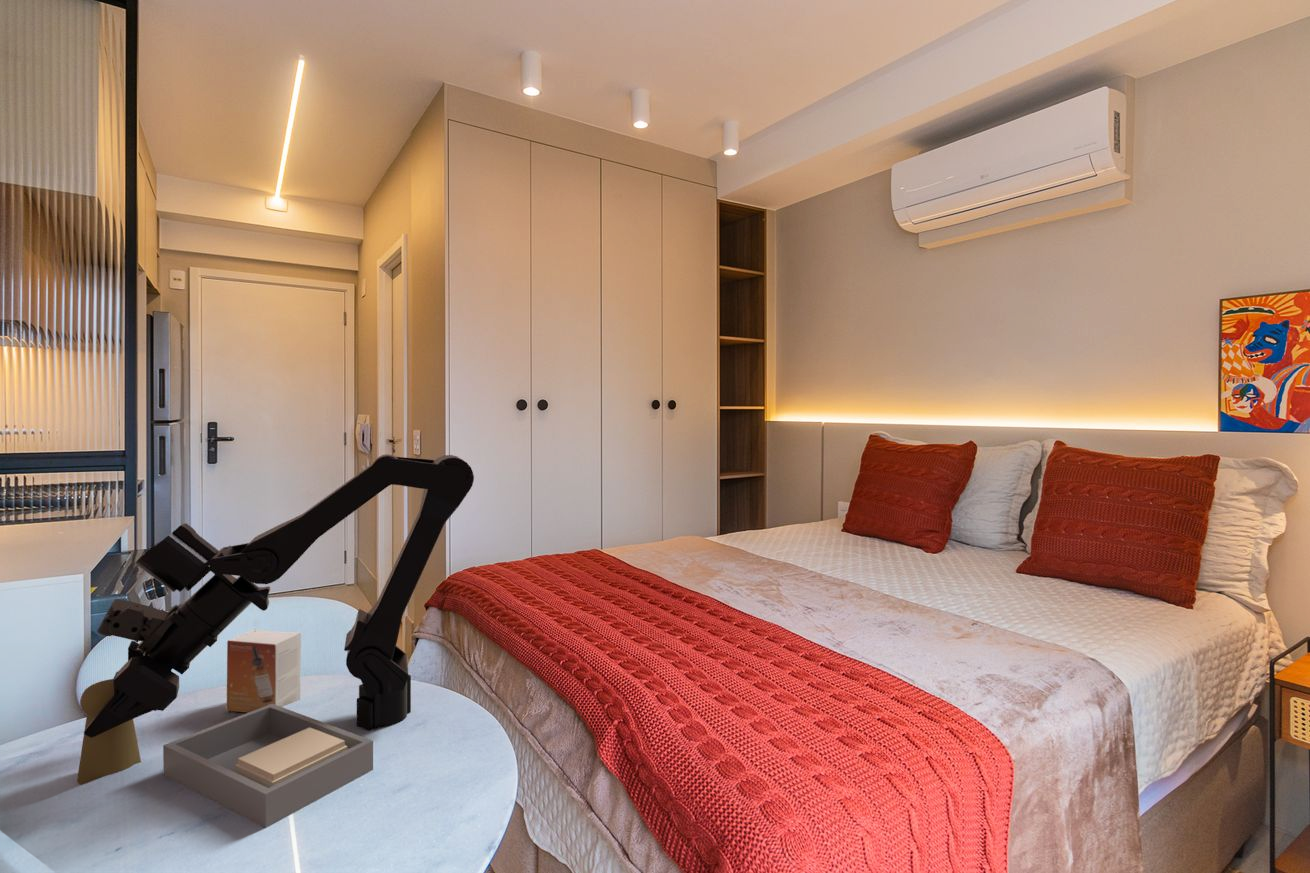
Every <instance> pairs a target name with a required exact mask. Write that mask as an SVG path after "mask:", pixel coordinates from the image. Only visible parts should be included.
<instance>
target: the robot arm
mask: <svg viewBox="0 0 1310 873" xmlns="http://www.w3.org/2000/svg"><path fill="white" fill-rule="evenodd" d="M474 480H475V475H474V472H473V469H472V467H471V466H470V465H469V464H468V462H466V461H465V460H464V459H462V458H460V457H459V456H456V455H453V454H446V455H442V456H440V457H437V458H436V459H430V458H429V459H428V458H420V457H419V458H418V457H405V456H404V457H402V456H396V455H393V454H387V453H386V454H382V455H380V456H378V457H377V458H375V459H374V461H373V462H372V463H371V464H370V465H368V466H366V468H364V469H363V470H361V471H360V472H359V473H357V474H356V475H354V476H353V477H351V478H350V479H349V480H348V481H346V482H344V483H343V484H342V485H341V486H339V487H338V488H336V489H335V490H334V491H333V492H331V493H329V494H328V495H326V496H325V497H323V499H321V500H320V501H319V502H317V503H316V504H314V505H313V506H311V507H310V508H309V509H308V510H306V511H304V512H303V513H301V514H300V515H297V516H295V517H294V518H291V519H289V520H287V521H284V522H282V523H280V524H278V525H276V526H274V527H272V528H270V529H268V530H266V531H263V532H262V533H260V534H258V535H256V536H254V538H252V539H251V540H250V542H247V543H246V542H245V543H241V544H234V545H229V546H224V547H222V548H220V549H219V550H218V549H217V548H216V547H215V546H213V545H212V544H211V543H209V541H208V540H206V539H205V538H203V537H202V536H201V535H199V534H198V532H196V530H195V529H194V528H193V527H192V526H190V525H189V524H188V523H183V524H180V525H179V526H178V527H177V528H176V529H174V531H172V532H171V533H170V534H168V535H167V536H166V537H164V538H163V539H162V540H161V541H159V542H157V543H155V544H154V545H152V546H151V547H150V548H149V549H148V550H147V551H145V553H143V554H142V555H141V556H140V557H139V558H138V559H137V560H136V561H135V562H134V565H136V566H137V567H138V568H140V569H142V571H144V572H145V573H147V574H148V575H149V576H151V577H152V578H154V579H155V580H156V581H157V582H159V583H160V584H161V585H163V586H164V587H166V588H167V590H170V591H171V592H172V593H175V592H176V591H178V592H179V593H180V592H182V591H183V590H185V591H186V592H189V591H191V590H192V589H193V588H194V587H195V586H196V585H198V583H199V582H200V581H202V579H203V578H205V577H206V576H207V575H208V574H209V573H210V572H211V573H213V574H214V575H213V576H212V577H211V578H209V580H207V581H206V582H205V583H204V584H203V585H202V586H201V587H200V588H198V590H197V591H196V592H194V594H192V595H191V596H190V597H189V598H188V599H187V600H186V601H185V602H183V603H179V604H178V605H177V604H175V605H174V606H173V607H171V608H170V609H169V610H168V611H164V610H161V609H159V608H156V607H154V606H151V605H146V604H141V603H137V602H134V601H130V600H127V599H122V598H116V599H114V600H113V601H112V603H111V604H110V606H109V608H108V609H107V612H106V613H105V615H104V616H103V619H102V621H101V622H100V624H99V626H98V628H97V630H96V632H97V633H98V634H100V635H102V636H106V637H111V636H113V637H118V638H122V639H127V640H131V641H130V643H129V645H128V648H127V662H125V663H124V665H123V666H122V667H121V668H120V669H119V670H118V671H116V672H115V674H114V677H112V679H113V682H112V683H113V686H114V693H113V695H112V696H111V697H110V699H109V700H108V701H107V702H106V704H105V705H104V706H103V708H102V709H101V710H100V711H99V713H98V714H97V715H96V716H95V718H94V719H93V720H92V722H91V723H90V724H89V726H88V727H87V728H86V729H85V728H84V730H85V731H84V730H83V735H84V734H85V735H87V736H88V737H90V738H92V737H95V736H97V735H99V734H101V733H103V732H106V731H108V730H110V729H112V728H114V727H116V726H119V725H121V724H123V723H125V722H127V721H130V720H132V719H133V720H134V719H137V718H139V717H141V716H143V715H147V714H148V713H151V712H153V711H154V712H155V711H156V712H157V711H161V712H163V711H164V710H165V709H167V708H168V706H169V705H171V704H172V703H173V702H174V701H175V699H177V698H178V694H179V690H180V676H179V675H178V674H176V673H174V672H173V671H172V670H174V671H175V672H177V673H179V674H180V675H183V674H184V673H185V672H186V671H187V670H188V669H190V666H191V662H192V661H193V660H194V659H195V658H196V657H197V656H198V655H199V654H201V653H202V652H203V651H204V649H205V648H207V646H208V647H209V648H211V647H212V646H213V645H215V643H216V642H217V641H218V637H219V635H220V634H221V633H222V632H223V631H224V630H225V629H227V627H228V626H230V625H231V623H233V621H234V620H236V618H237V617H238V616H240V615H241V614H242V613H243V612H244V611H245V610H246V609H247V608H248V607H249V606H250V605H251V604H253V605H254V606H256V607H257V608H258V609H259V610H261V611H262V612H264V611H267V609H268V608H269V605H270V600H269V596H270V595H269V594H270V590H271V586H269V584H273V583H274V582H275V581H278V580H279V579H280V578H282V576H284V575H285V574H286V572H288V570H289V569H290V568H291V567H292V566H293V565H294V564H295V563H296V562H298V560H299V559H300V558H301V557H302V556H303V555H304V554H305V552H306V551H307V550H308V549H309V548H310V547H311V546H312V545H313V544H314V543H315V542H316V541H317V540H318V539H319V538H320V537H322V536H323V535H325V533H327V532H328V531H330V530H331V529H333V527H335V526H337V524H339V523H340V522H342V521H343V520H345V519H346V518H347V517H349V516H350V515H352V514H353V513H354V512H356V511H357V510H358V509H359V508H361V507H362V506H363V505H365V504H366V503H368V502H369V501H370V500H372V499H373V498H374V497H376V496H378V494H379V493H381V492H383V491H384V490H385V489H387V488H388V487H389V486H392V485H394V486H403V487H407V488H414V489H415V488H416V489H423V492H422V495H421V496H422V497H421V500H420V504H419V505H420V506H419V510H418V513H417V515H416V517H415V520H414V521H413V524H412V526H411V528H410V530H409V532H408V534H407V537H406V539H405V541H404V543H403V545H402V547H401V550H400V551H399V554H398V556H397V558H396V560H395V563H394V564H393V567H392V569H391V571H390V573H389V576H388V577H387V580H386V581H385V584H384V587H383V589H382V590H381V593H380V595H379V597H378V599H377V601H376V602H375V604H374V605H373V606H372V608H371V609H370V610H369V611H368V612H366V611H364V610H362V609H360V608H359V609H358V610H357V613H356V619H355V621H354V624H353V626H352V627H351V629H350V630H349V631H348V632H347V633H346V636H345V637H346V638H345V641H344V643H345V644H344V651H345V652H346V653H347V654H346V658H345V659H346V660H345V665H346V667H347V670H348V672H349V673H350V674H351V675H352V676H353V677H354V678H356V679H358V680H360V681H361V684H359V685H358V697H357V698H356V727H357V728H360V729H363V730H366V731H368V732H369V731H372V730H377V729H379V728H386V727H390V726H394V725H397V724H399V723H401V722H403V721H404V720H405V719H406V718H407V717H408V714H411V710H412V707H411V706H412V705H411V702H412V699H411V697H412V694H411V693H412V676H411V674H409V668H408V667H409V666H408V665H409V664H408V656H407V653H406V652H405V651H403V650H402V649H401V648H400V647H398V646H397V643H398V639H399V634H400V630H401V629H400V628H401V623H402V619H403V615H404V614H405V611H406V609H407V607H408V605H409V602H410V600H411V598H412V595H413V593H414V591H415V589H416V587H417V585H418V582H419V580H420V579H421V577H422V574H423V572H424V569H425V568H426V565H427V563H428V561H429V559H430V556H431V554H432V552H433V551H434V550H433V549H434V548H435V545H436V544H437V541H438V539H439V537H440V534H441V532H442V530H443V528H444V526H445V524H446V523H447V521H448V520H449V519H450V518H451V516H452V515H453V514H454V513H455V511H456V510H457V509H458V507H459V506H460V505H461V504H462V502H463V500H464V499H465V498H466V497H467V495H468V494H469V492H470V491H471V489H472V487H473V484H474ZM235 576H237V578H236V577H235ZM258 585H268V586H264V587H260V586H258ZM138 642H139V643H138Z"/></svg>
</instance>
